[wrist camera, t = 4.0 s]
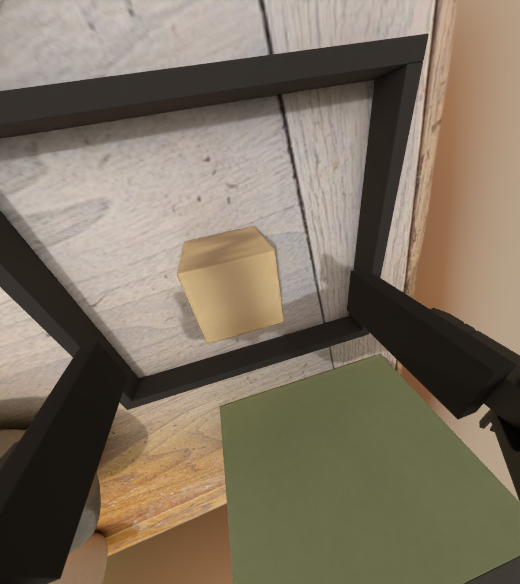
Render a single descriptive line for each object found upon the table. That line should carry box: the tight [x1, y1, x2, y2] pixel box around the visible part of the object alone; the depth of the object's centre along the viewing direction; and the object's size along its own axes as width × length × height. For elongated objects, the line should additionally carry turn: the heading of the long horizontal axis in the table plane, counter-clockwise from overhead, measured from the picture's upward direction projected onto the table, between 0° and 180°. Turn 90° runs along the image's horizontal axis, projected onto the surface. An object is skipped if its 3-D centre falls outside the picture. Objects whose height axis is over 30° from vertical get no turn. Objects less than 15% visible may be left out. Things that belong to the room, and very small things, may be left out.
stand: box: [220, 354, 520, 584], centre depth 25 cm, size 24×15×18 cm, turn 99°
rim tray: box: [0, 34, 428, 410], centre depth 16 cm, size 26×22×2 cm
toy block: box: [177, 226, 284, 344], centre depth 15 cm, size 6×6×6 cm
